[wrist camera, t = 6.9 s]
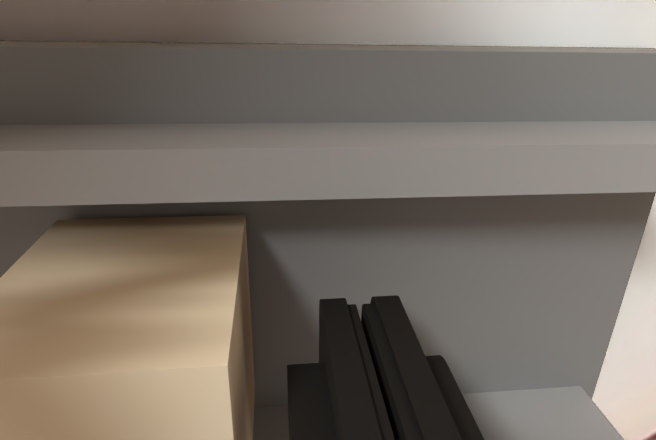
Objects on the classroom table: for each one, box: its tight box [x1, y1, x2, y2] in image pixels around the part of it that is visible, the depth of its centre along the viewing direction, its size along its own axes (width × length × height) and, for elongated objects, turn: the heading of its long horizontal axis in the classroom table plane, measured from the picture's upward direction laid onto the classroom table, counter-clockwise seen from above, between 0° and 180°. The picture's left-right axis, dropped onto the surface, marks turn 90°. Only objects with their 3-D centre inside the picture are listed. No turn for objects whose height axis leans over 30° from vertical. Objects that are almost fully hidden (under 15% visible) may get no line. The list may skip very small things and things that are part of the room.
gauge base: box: [0, 41, 656, 440], centre depth 10 cm, size 25×12×8 cm, turn 89°
